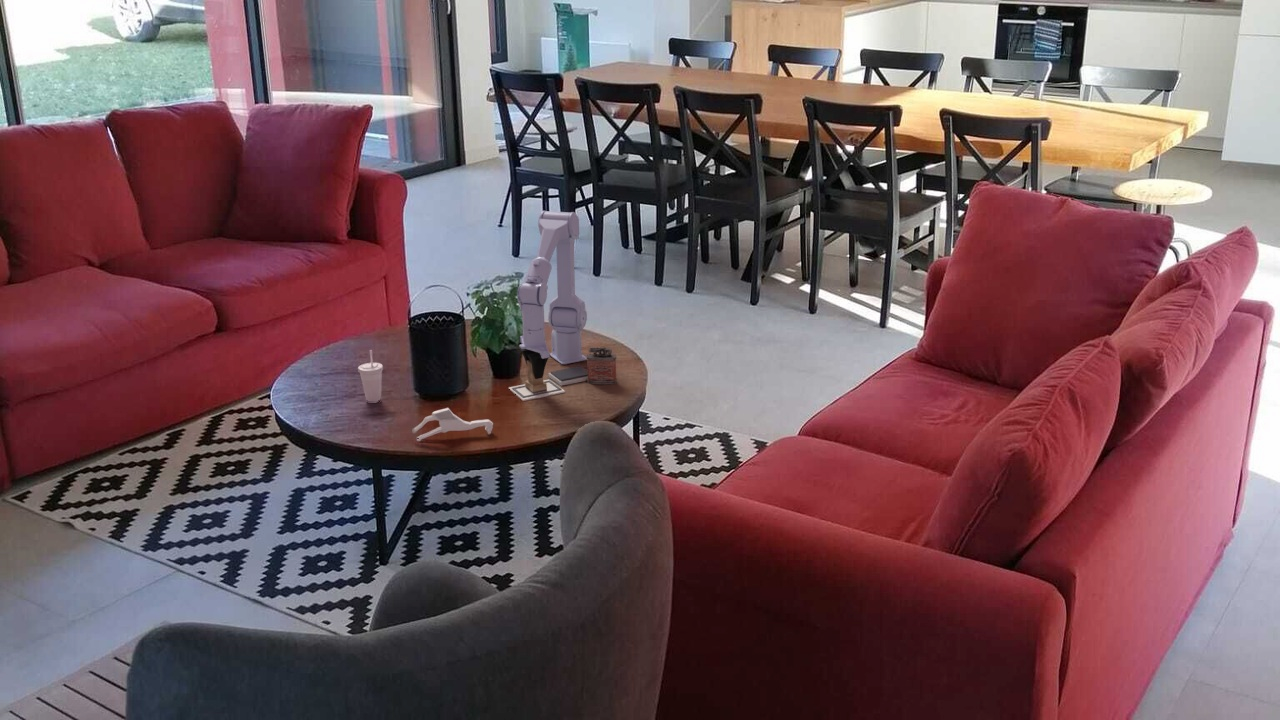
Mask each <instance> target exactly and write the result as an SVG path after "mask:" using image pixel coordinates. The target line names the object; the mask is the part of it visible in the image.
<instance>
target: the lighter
mask: <svg viewBox="0 0 1280 720" xmlns="http://www.w3.org/2000/svg"><path fill="white" fill-rule="evenodd" d="M612 349H613V348H612V347H605V345H602V346H600V347H597V346H590V347H589V348H588V353H589V354H587V355H586V358H587V360H586V361H587V362H586V363H587V371H588V378H587V381H586V382H587V383H588V384H592V385H593V384H595V385H614V384H617V381H618V378H617V355H616V354H612V353H613V352H612Z"/></svg>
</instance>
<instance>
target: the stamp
mask: <svg viewBox="0 0 1280 720" xmlns="http://www.w3.org/2000/svg"><path fill="white" fill-rule="evenodd" d="M526 367H527V369H526V370H527V380H525V381H524V382H525V383H524V384H525V385H526V389H528V390H529V391H530V392H531V393H533V394H535V393H539V392H544V391H547V384H546V383H545V382H544V377H543V378H539V379H535V377H534V374H533V368H532V364H531V361H530V360H528V361H527V364H526Z"/></svg>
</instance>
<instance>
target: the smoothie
mask: <svg viewBox="0 0 1280 720" xmlns="http://www.w3.org/2000/svg"><path fill="white" fill-rule="evenodd" d="M369 357H370V362H367V363H366V362H365V363H362V364H361V365H359V366H358V367H357V372H358V373H359V375H360V379H361V383H362V384H361V385H362V388H363V392H364V396H365V401H366V400H368V401H378V400H380V399H381V400H382V386H383V385H382V382H383V381H382V380H383V370H384V366H383V364H382V363H381V362H374V359H373V349H369Z"/></svg>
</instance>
